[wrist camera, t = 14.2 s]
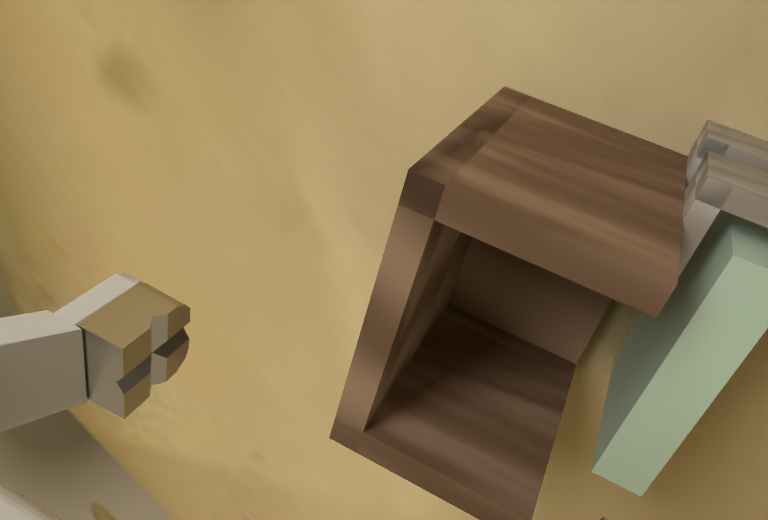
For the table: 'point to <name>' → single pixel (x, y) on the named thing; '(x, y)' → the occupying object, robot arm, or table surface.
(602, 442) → the door
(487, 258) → the cabinet
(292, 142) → the table surface
